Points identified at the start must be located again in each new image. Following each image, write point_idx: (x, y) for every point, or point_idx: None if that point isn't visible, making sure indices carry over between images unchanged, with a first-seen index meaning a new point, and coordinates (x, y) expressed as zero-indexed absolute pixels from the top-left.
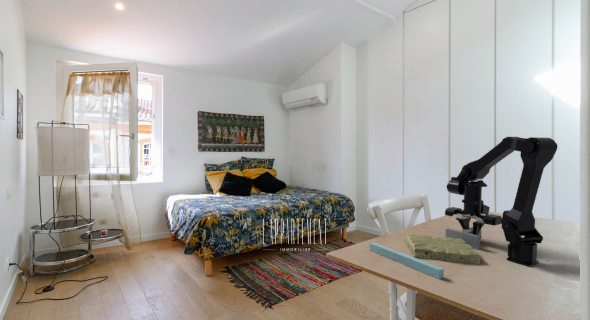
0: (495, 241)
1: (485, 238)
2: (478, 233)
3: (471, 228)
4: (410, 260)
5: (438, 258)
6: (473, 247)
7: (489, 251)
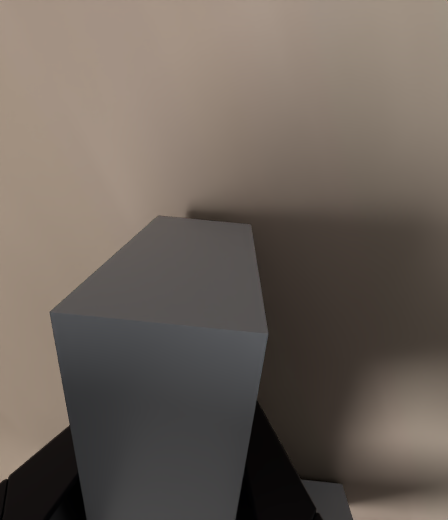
0: (412, 75)
1: (247, 30)
2: (284, 461)
3: (130, 516)
4: None
5: None
6: None
7: (418, 485)
